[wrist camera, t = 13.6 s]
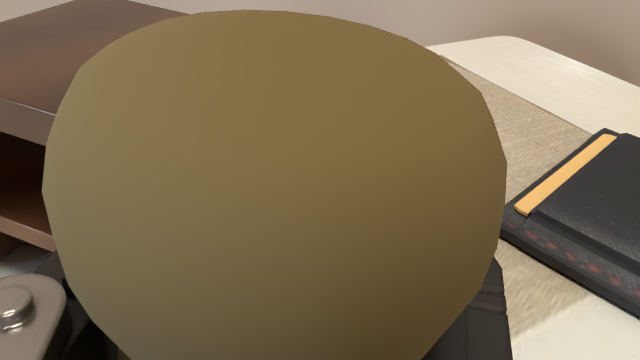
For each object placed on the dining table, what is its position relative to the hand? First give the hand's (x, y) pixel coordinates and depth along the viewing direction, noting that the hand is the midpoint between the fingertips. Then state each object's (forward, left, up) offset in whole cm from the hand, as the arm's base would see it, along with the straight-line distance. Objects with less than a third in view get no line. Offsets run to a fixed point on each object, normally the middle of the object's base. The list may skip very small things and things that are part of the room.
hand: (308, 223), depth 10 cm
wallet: (+15, +26, -13) cm, 33 cm away
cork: (0, -3, -7) cm, 7 cm away
